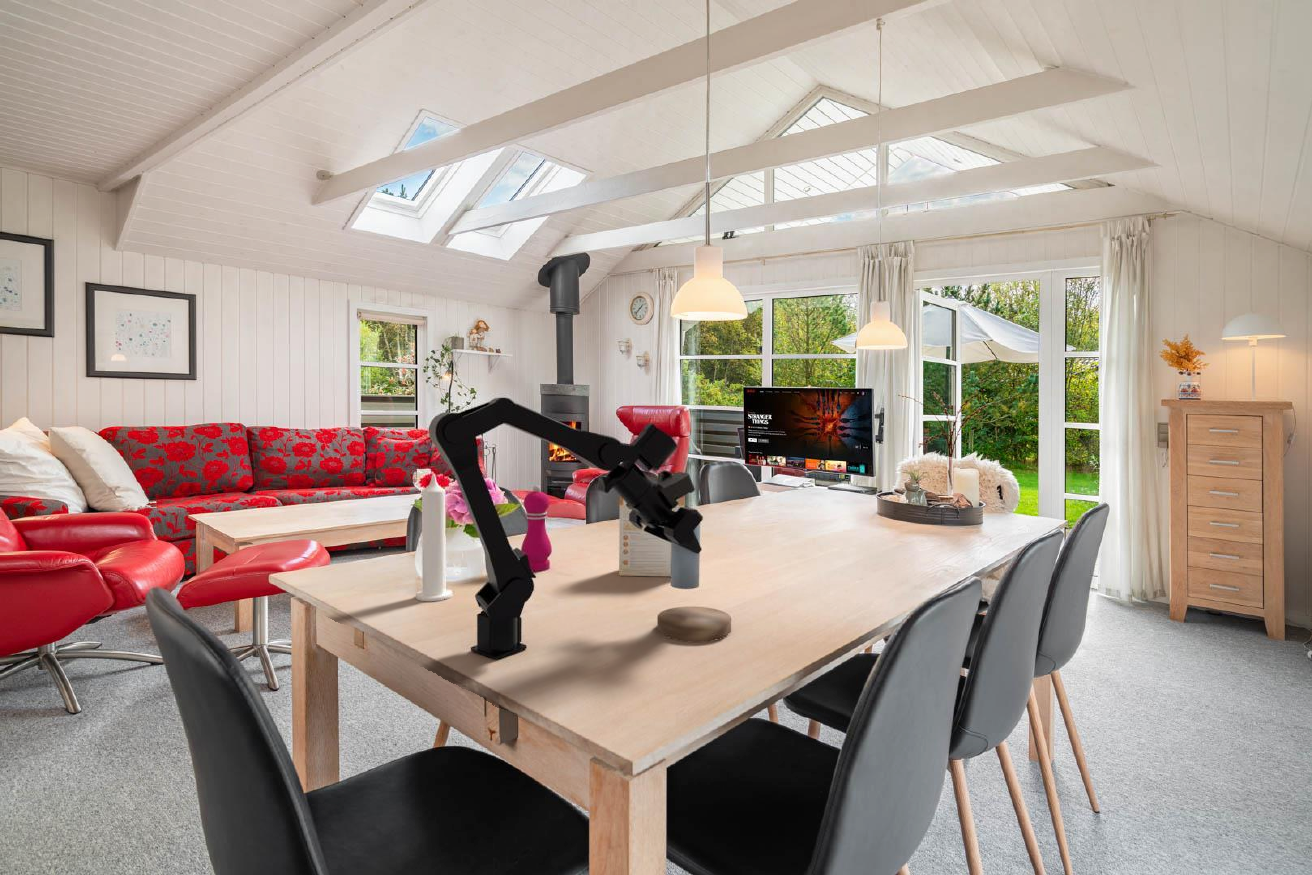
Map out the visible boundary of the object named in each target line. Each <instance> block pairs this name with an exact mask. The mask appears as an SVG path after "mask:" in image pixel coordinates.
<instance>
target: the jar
mask: <svg viewBox="0 0 1312 875" xmlns="http://www.w3.org/2000/svg"><path fill="white" fill-rule="evenodd" d="M694 533H695V535H696V538H697V540H698V542H699V544H700V545H701V522H700V523H699V525H698V526H697V527H696V528H695V529H694ZM700 553H701V552H700ZM700 553H699V554H697V553H695V552H692V551H690V550H688V549H686V548H683V547H681V546H679V545H677V544H674V543H672V542H671V577H670V586H671V587H672V588H675V589H679V590H680V589H681V590H694V589H697V588H699V587H700V567H701V566H700V561H701V560H700Z"/></svg>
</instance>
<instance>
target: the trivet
mask: <svg viewBox="0 0 1312 875" xmlns="http://www.w3.org/2000/svg"><path fill="white" fill-rule="evenodd" d="M656 620H657V624H656V626H657V627H656V628H657V629H658V630H657V632H658V631H659V632H658V633H659V634H660V633H661V634H663V635H664V637H665V636H666V638H668V637H670V638H669V639H671V638H674V639H677V640H676V641H679V640H682V641H681V642H687V641H691V642H690V643H702V642H701V641H708V642H712V641H711V640H715V639H719V640H721V639H720V638H723V637H725V638H727V637H728V636H729V635H730V634H731V633H732V617H731V615H730V614H729V613H727V612H725V611H723V610H721V609H720V610H719V609H716V608H711V607H705V606H678V607H672V608H667V609H664V610H662V611H660V612H659V613H658V614H657V619H656ZM729 633H730V634H729ZM661 634H660V635H661ZM728 634H729V635H728ZM663 635H662V636H663ZM727 635H728V636H727ZM726 636H727V637H726ZM674 639H673V640H674ZM723 639H724V638H723ZM715 641H716V640H715Z"/></svg>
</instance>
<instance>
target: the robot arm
mask: <svg viewBox="0 0 1312 875" xmlns="http://www.w3.org/2000/svg"><path fill="white" fill-rule="evenodd" d="M502 425H506V426H508V427H510V428H513V429H514V430H515V429H516V430H518V431H520V432H523V433H525V434H528V435H531V436H533V437H535V438H538V439H540V440H542V441H545V442H547V443H548V444H552V445H554V446H556V447H559V448H561V449H563V450H564V451H566V452H567V453H569V454H570V455H571V456H573V458H575V459H576V460H578V461H580V462H582V463H583V464H585V465H586V466H587V467H590V468H594V469H596V470H601V471H605V472H607V473H606V474H605V475H598V477H597V478H598V479H597V480H598V483H597V490H598V491H599V492H602V493H605V494H608V493H609V492H610V491H611V490H612V489H613V490H614V491H615V493H617V494H618V496H619V497H620V496H621V497H622V498H623V500H624V501H625V502H626V503H627V504H626V506H627V507H628V508H629V509H631V510H632V511H631V512H630V513H629V521H630V522H631V523H632V524H633V525H634V526H635V527H637V528H639V529H642V528H643V525H642V524H644V525H645V526H646V527H645V528H644V531H645V532H647V533H649V534H652V535H654V536H656V537H659V538H661V539H663V540H666V541H668V542H670V543H671V542H672V543H674V544H677V545H679V546H681V547H683V548H686V549H688V550H690V551H692V552H695V553H697V554H699V553H701V552H702V546H701V543H700V544H699V542H698V540H697V538H696V535H695V533H694V529H695V528H696V527H697V526H698V525H699V523H700V524H701V522H702V521H703V520H704V517H703V515H702V514H701V513H700V511H699V510H698V509H695V508H693V507H689V506H684V507H680V508H679V509H678V510H677V512H675V511H672V509H673V508H675V507H676V506H677V505H678V502H677V501H676V500H677V499H679V498H681V497H683V496H684V497H685V496H686V495H688V494H692V493H693V492H695V491H696V488H695V486H694V483H693V480H692V477H691V476H690V474H689V472H688V473H687V472H684V471H683V472H681V471H677V472H676V471H675V472H673V473H672V472H671V471H669V470H664V469H663V470H662V471H660V472H658V471H659V470H660V468H661V467H662V466H663V465H664V464H665V463H666V462H667V461H668V459H670V457H671V456H672V455H673V454H674V453H675V452H676V450H678V445H677V443H676V441H675V439H674V438H673V437H672V436H670V435H668V434H667V433H666V432H664V431H663V430H661V429H660V428H658V427H657V426H656V425H655V424H654V423H647V424H645V426H644V427H643V429H642V430H641V432H640V433H639V434H638V435H637V436H636V437H635V439H633V441H632V442H630V443H625V442H621V441H620V440H619V439H617V438H616V437H613V436H609V435H605V434H601V433H597V432H593V431H592V432H591V431H587V430H583V429H582V430H581V429H578V428H575V427H572V426H570V425H568V424H566V423H563V422H561V421H559V420H556V419H554V418H551V417H549V416H547V415H545V414H542V413H540V412H538V411H536V410H534V409H531V408H529V407H526V406H524V405H522V404H520V403H517V402H515V401H514V400H513V399H511V398H509V397H495V398H493V399H491V400H489V401H487V402H485V403H483V404H480V405H477V406H474V407H471V408H469V409H465V410H462V411H460V412H447V411H446V412H441V413H439V414H437V415H435V416H434V417H433V419H432V420H431V421H430V424H429V425H428V435H429V438H430V441H431V442H432V444H433V446H434V447H435V448H436V450H437V452H438V453H439V454H440V456H441V457H442V459H443V460H444V462H445V463H446V465H447V466H448V468H449V469H450V470H451V472H452V473H453V476H454V479H455V480H456V483H457V486H458V488H459V490H460V492H461V495H462V498H463V501H464V503H465V506H466V508H467V511H468V513H469V516H470V518H471V520H472V524H473V526H474V529H475V531H476V533H477V534H476V535H478V538H479V541H480V544H481V546H482V549H483V551H484V559H485V561H484V562H485V569H486V570H485V571H486V577H487V579H488V580H487V582H486V583H485V584H484V585H483V586H482V587H481V588H479V590H478V591H477V592H476V593H475V596H474V597H475V600H476V603H477V606H478V607H479V608H480V609H481V611H480V612H479V613H477V614H476V644H475V645H473V646H471V647H470V651H471V652H474V653H476V654H479V655H483V656H486V657H488V658H491V659H494V660H498V659H501V658H502V659H503V658H504V657H507V656H509V655H513V654H515V653H518V652H520V651H523V650H526V649H527V644H524V643H522V629H523V628H522V625H523V624H522V623H523V622H522V620H523V619H522V617H521V615H522V612H523V610H524V607H525V604H526V603H527V602H528V601H529V599H531V597H532V594H534V593H533V592H534V591H535V583H534V579H536V578H537V576H536V574H534V571H532V570H531V568H530V564H529V559H528V556H527V554H525V553H524V552H522V551H521V549H520V548H518V547H515V548H512V545H511V544H510V542H509V538H508V536H507V533H506V531H505V529H504V526H503V523H502V521H501V518H500V516H499V513H498V510H497V508H496V506H495V503H494V500H493V497H492V496H491V492H490V491H489V487H488V484H487V483H486V480H485V478H484V474H483V472H482V469H481V467H480V461H479V447H478V441H477V437H479V436H481V435H482V436H483V435H484V434H486V433H488V432H489V431H492V430H493V429H496V428H498V427H500V426H502ZM643 471H644V472H646V473H649V472H650V471H653V472H658V473H657V481H656V483H654V482H653V481H652V480H651V479H650V478H649V477H648V476H647V475H646V474H645V473H644V472H643ZM641 523H642V524H641Z"/></svg>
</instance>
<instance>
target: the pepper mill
mask: <svg viewBox="0 0 1312 875" xmlns="http://www.w3.org/2000/svg"><path fill="white" fill-rule="evenodd" d="M532 490H533V491H531V492H528V493H527V494H526V495H525V497H524V498H523V499H524V500H523V507H524V509H526V511H525V512H526V513H525V515H526V516H525V518H526V519H527V530H526V534H525V536H524V539H523V541H522V544H521V547H520V548H521V549H520V550H521V551H522V552H524V553H525V554H527V556H528V559H529V564H530V568H531V570H532V572H541V571H540V570H544V571H546V570H545V569H547V570H549V569H550V566H551V561H550V559H548V558H549V557H550V556H551V554H552V551H553V550H552V549H553V548H552V544H551V541H550V538H549V536H548V534H547V529H546V519H547V518H548V511H547V509H548V508H549V507H550V498H549V496H548V495H547V494H546V493H545V492H543V491H541V486H540V485H537V484H535V485H533V487H532Z"/></svg>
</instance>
